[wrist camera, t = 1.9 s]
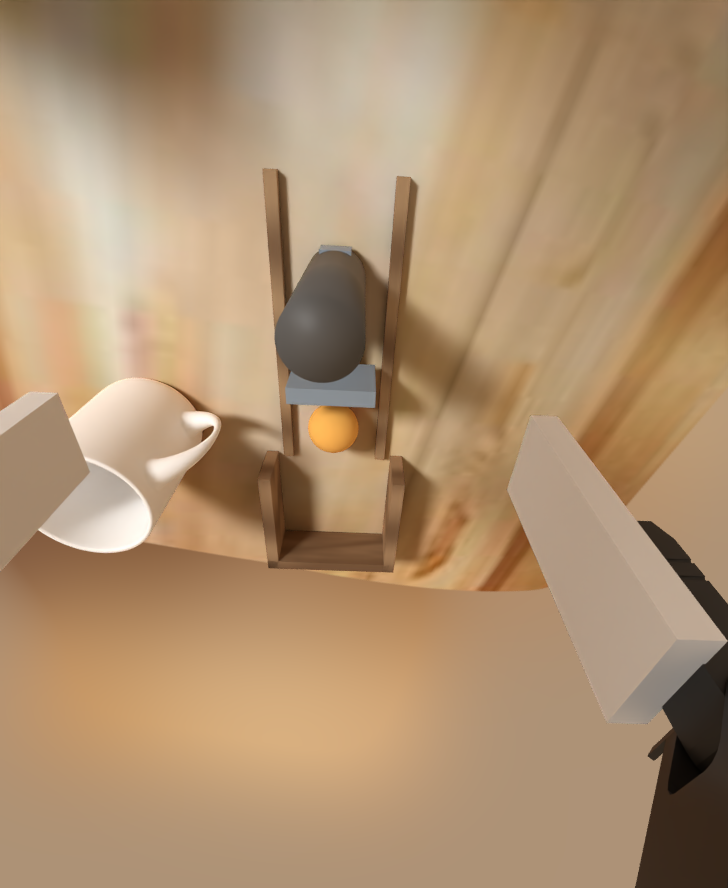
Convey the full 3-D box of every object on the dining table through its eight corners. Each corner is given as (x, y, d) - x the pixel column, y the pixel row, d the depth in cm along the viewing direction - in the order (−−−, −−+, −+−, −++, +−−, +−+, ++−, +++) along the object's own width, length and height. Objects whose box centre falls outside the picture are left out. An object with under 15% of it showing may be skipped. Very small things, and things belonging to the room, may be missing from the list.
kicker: (290, 243, 27) (247, 291, 17) (382, 248, 27) (391, 299, 17) (296, 371, 32) (265, 466, 22) (373, 375, 32) (377, 470, 22)
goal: (267, 450, 37) (257, 479, 33) (401, 456, 37) (405, 485, 34) (276, 536, 43) (268, 568, 40) (391, 541, 43) (393, 572, 40)
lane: (264, 168, 25) (262, 168, 24) (410, 177, 25) (410, 177, 25) (285, 451, 37) (284, 455, 36) (383, 455, 37) (384, 459, 36)
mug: (258, 441, 36) (223, 532, 27) (137, 469, 38) (68, 562, 29) (213, 351, 31) (153, 425, 23) (78, 388, 33) (-26, 470, 24)
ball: (310, 392, 33) (304, 417, 30) (359, 394, 34) (359, 420, 30) (311, 433, 36) (306, 461, 32) (357, 435, 36) (357, 463, 32)
